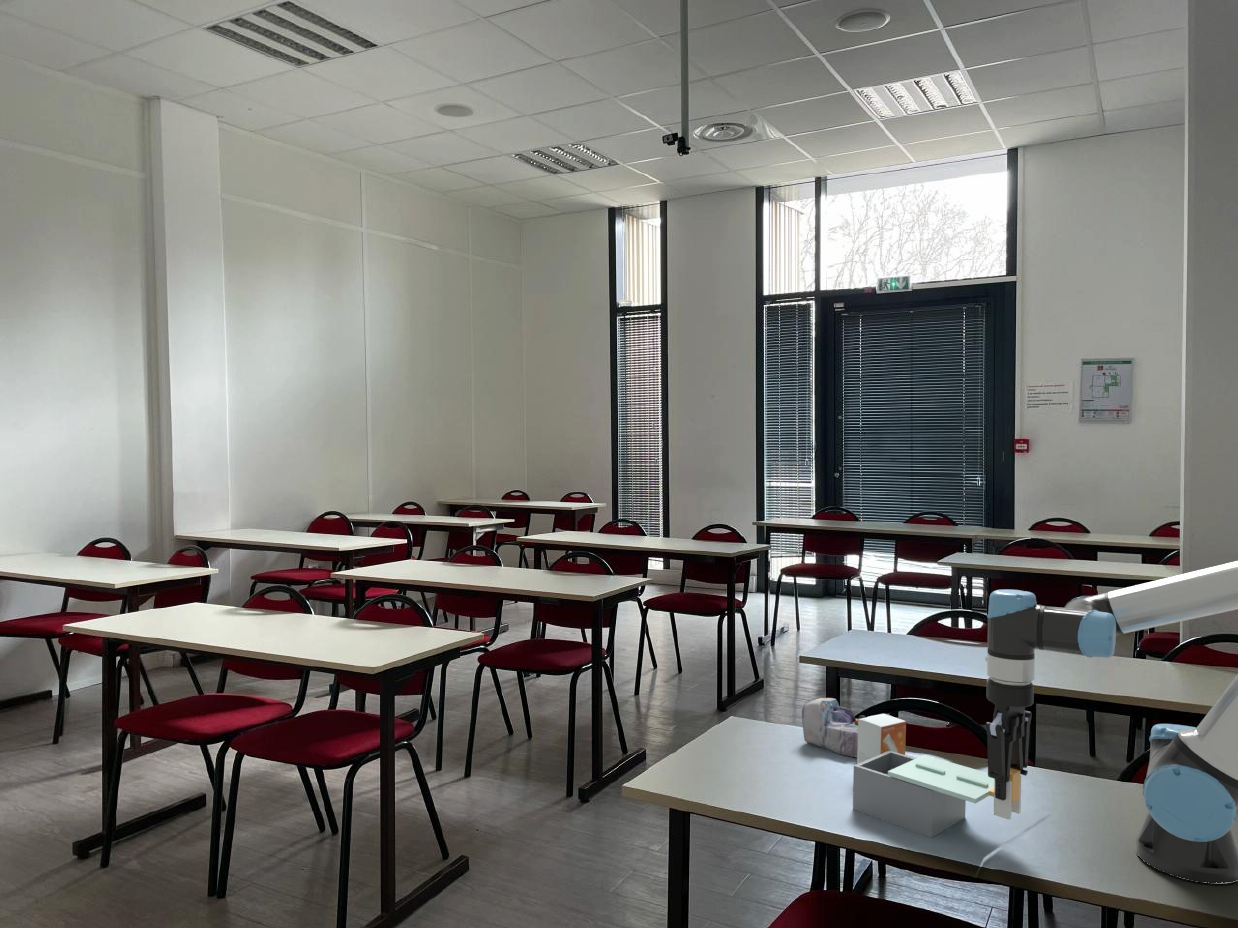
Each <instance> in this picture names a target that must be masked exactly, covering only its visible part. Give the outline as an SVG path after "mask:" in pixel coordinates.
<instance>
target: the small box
mask: <svg viewBox="0 0 1238 928" xmlns="http://www.w3.org/2000/svg"><path fill="white" fill-rule="evenodd" d="M873 715H874V716H873ZM873 715H870V716H867V717H866V716H865V718H862V719H858V718H857V719H858V751H857V757H856V758H857V759H856V761H857V762H856V763H857V764H859V763H861V762H863V761H866V760H868V759H871V758H873V757H875V756H878V755H880V754H882V753H885V752H887V751H893V752H896V753H899V754H903V755H906V737H907V733H906V732H907V721H906V720H904V719H901V718H899V717H894V716H892V715H890V714H887V713H879V714H873Z"/></svg>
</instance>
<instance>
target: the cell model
mask: <svg viewBox="0 0 1238 928" xmlns="http://www.w3.org/2000/svg"><path fill="white" fill-rule="evenodd" d="M874 715H875V714H873V715H872V716H874ZM862 718H866V715H862V714H860V715H859V716H858V718H856V716H855V715H854V714H853V713H852V711H851V709H850V708H848V707H844V706H840V704H839V702H838V700H837V699H836V698H833V697H819V698H817V699H814V700H811V701H808V702H806V703H804V704H803V706H802V709H801V724H802V730H803V738H804V739H803V740H804V741H805V742H806V743H807V744H808V743H809V744H811V745H815V746H819V747H822V748H823V749H826V750H828V751H831V752H833V753H837V754H838V755H843V756H844V757H846V756H847V757H852V758H853V757H855V758H857V751H858V719H862Z"/></svg>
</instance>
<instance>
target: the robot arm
mask: <svg viewBox="0 0 1238 928" xmlns="http://www.w3.org/2000/svg"><path fill="white" fill-rule="evenodd" d="M1037 603H1038V601H1037V597H1036V595H1035V593H1034V592H1031V591H1026V590H1025V591H1024V590H1022V589H1021V590H1019V589H996V590H993V591H992V592H991V593H990V595H989V601H988V612H987V615H986V617H987V649H986V650H987V656H985V659H984V661H986V662H987V664H986V675H987V676H988V678H987V679H986V688H985V689H986V690H985V691H986V693H985V695H986V697H985V698H986V699H987V700H988V701H989V702H990V703H992V704H993V705H994V706H995V707H994V710H993V714H992V715H993V716H992V722H988V721H987V722H986V723H985V730H986V735H987V739H986V740H987V744H986V745H987V773H988V777H991V778H994V797H993V816H996V817H1000V818H1002V819H1005V820H1008V821H1009V820H1011V819H1012V813H1015V814H1018V815H1019V814H1021V807H1022V806H1021V805H1022V800H1021V799H1022V776H1025V777H1026V776H1027V775H1028V770H1027V767H1028V765H1029V763H1028V762H1029V761H1028V760H1029V745H1030V730H1031V728H1030V727H1031V723H1032V718H1033V717H1032V716H1033V714H1032V711H1028V710H1025V709H1026V708H1028V707H1031V706H1032V705H1033V704H1034V700H1035V699H1034V696H1035V695H1034V694H1035V692H1034V691H1035V685H1034V683H1033V681H1034V680H1035V671H1036V670H1035V667H1036V665H1035V662H1036V661H1035V650H1040V651H1048V652H1057V653H1063V654H1068V655H1069V654H1070V655H1077V656H1083V657H1084V656H1085V657H1087V658H1102V659H1103V658H1105V659H1108V658H1111V657H1112V656H1114V654H1115V650H1116V643H1117V642H1116V640H1117V637H1118V636H1120V635H1124V634H1129V633H1131V632H1138V631H1142V630H1146V629H1152V628H1157V627H1161V626H1166V625H1170V624H1175V623H1176V624H1177V623H1180V622H1184V621H1189V620H1190V621H1191V620H1194V619H1199V618H1203V617H1208V616H1213V615H1217V614H1221V613H1227V612H1231V611H1236V610H1238V560H1235V561H1231V562H1227V563H1223V564H1218V565H1215V566H1209V567H1206V568H1202V569H1198V570H1194V571H1193V570H1192V571H1188V572H1185V573H1182V574H1176V575H1174V576H1173V575H1172V576H1169V577H1165V578H1161V579H1156V580H1152V581H1149V582H1144V583H1140V584H1135V585H1132V586H1127V587H1123V588H1120V589H1115V590H1111V591H1108V592H1104V593H1099V594H1095V595H1081V596H1079V597H1075V598H1072V599H1071V600H1069V601H1068V602H1067V603H1066V604H1065V606H1064V607H1057V606H1046V605H1042V604H1037ZM1148 738H1149V739H1148V740H1149V742H1150V749H1149V750H1150V751H1149V752H1150V753H1149V762H1148V767H1147V772H1146V777H1145V779H1144V781H1143V784H1142V795H1143V800H1144V803H1145V806H1146V809H1147V814H1146V815H1145V817H1144V819H1143V823H1142V825H1141V827H1140V829H1139V831H1138V834H1137V837H1136V840H1135V841H1136V842H1135V843H1136V844H1135V854H1136V853H1137V854H1136V855H1139V857H1140V858H1141V859H1142V860H1144V861H1145V862H1146V863H1148V864H1150V865H1151V866H1152V867H1155V868H1156V869H1159V870H1161V871H1164V872H1166V873H1168V874H1172V875H1174V876H1178V877H1181V878H1185V879H1189V880H1193V881H1198V882H1207V883H1208V882H1209V883H1216V882H1217V883H1221V882H1223V883H1225V882H1233V881H1236V880H1238V845H1237V841H1236V839H1235V836H1234V833H1233V830H1232V827H1233V826H1234V825H1235V821H1236V819H1237V810H1238V673H1237V674H1236V675H1235V677H1234V678H1233V680H1232V681H1230V683H1229V684H1228V686H1227V687H1226V689H1225V690H1224V691H1223V693H1222V694H1221V695H1220V696H1219V698H1218V699H1217V701H1216V702H1215V703H1214V704H1213V705H1212V707H1211V708H1210V709H1209V711H1208V713H1207V714H1206V715H1205V716H1204V718H1202V720H1201V721H1200V723H1199V724H1198V725H1197V727H1195V726H1189V725H1183V724H1182V725H1181V724H1173V723H1157V724H1154V725H1153V726H1152V728H1151V731H1150V736H1149V737H1148ZM1010 768H1012V769H1016V770H1020V798H1019V799H1018V800H1016V801H1014V802H1013V803H1012V781H1010V780H1009V779H1010ZM1139 857H1138V858H1139ZM1140 858H1139V859H1140ZM1141 859H1140V860H1141ZM1142 860H1141V861H1142ZM1146 863H1145V864H1146ZM1151 866H1150V867H1151ZM1152 867H1151V868H1152ZM1156 869H1155V870H1156ZM1161 871H1160V872H1161ZM1168 874H1167V875H1168ZM1174 876H1173V877H1174Z"/></svg>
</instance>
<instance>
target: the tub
mask: <svg viewBox="0 0 1238 928" xmlns="http://www.w3.org/2000/svg"><path fill="white" fill-rule="evenodd" d="M916 758H917V757H913V756H910V755H906V754H905V755H903V754H899V753H896V752H893V751H887V752H885V753H882V754H880V755H878V756H875V757H873V758H871V759H868V760H866V761H863V762H861V763H859V764H854V765H853V780H852V781H853V784H852V785H853V786H852V789H853V790H852V810H853V811H856V812H858V813H862V814H865V815H868V816H870V817H873V818H876V819H879V820H881V821H884V822H887V823H889V824H892V825H895V826H897V827H901V828H902V829H905V830H906V829H907V830H908V831H910V832H914V833H916V834H919V835H922V836H925V837H928V838H931V839H932V838H933V837H935V836H937V835H939V834H940V833H942V832H944V831H945V830H946V829H949V828H950V827H952V826H954V825H956V824H957V823H959V822H960V821H962V820H964V819H965V818H966V800H963V799H960V798H956V797H953V796H950V795H947V794H944V793H941V792H938V791H935V790H931V789H928V788H925V787H922V786H919V785H916V784H913V783H909V782H906V781H903V780H900V779H897V778H894V777H891V776H888V771H890V770H892V769H894V768H896V767H898V766H901V765H903V764H905V763H907V762H909V761H912V760H914V759H916Z"/></svg>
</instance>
